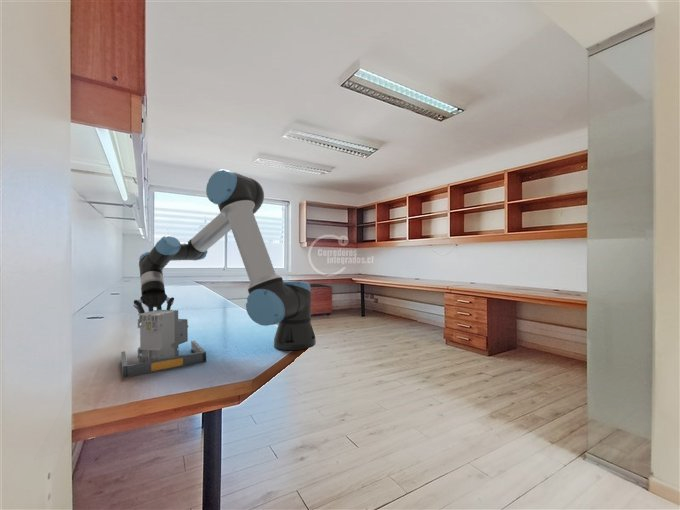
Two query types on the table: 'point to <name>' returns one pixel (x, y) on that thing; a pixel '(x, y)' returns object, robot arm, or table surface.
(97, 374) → the table surface
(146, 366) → the lockout stall
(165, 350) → the circuit breaker
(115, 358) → the table surface
